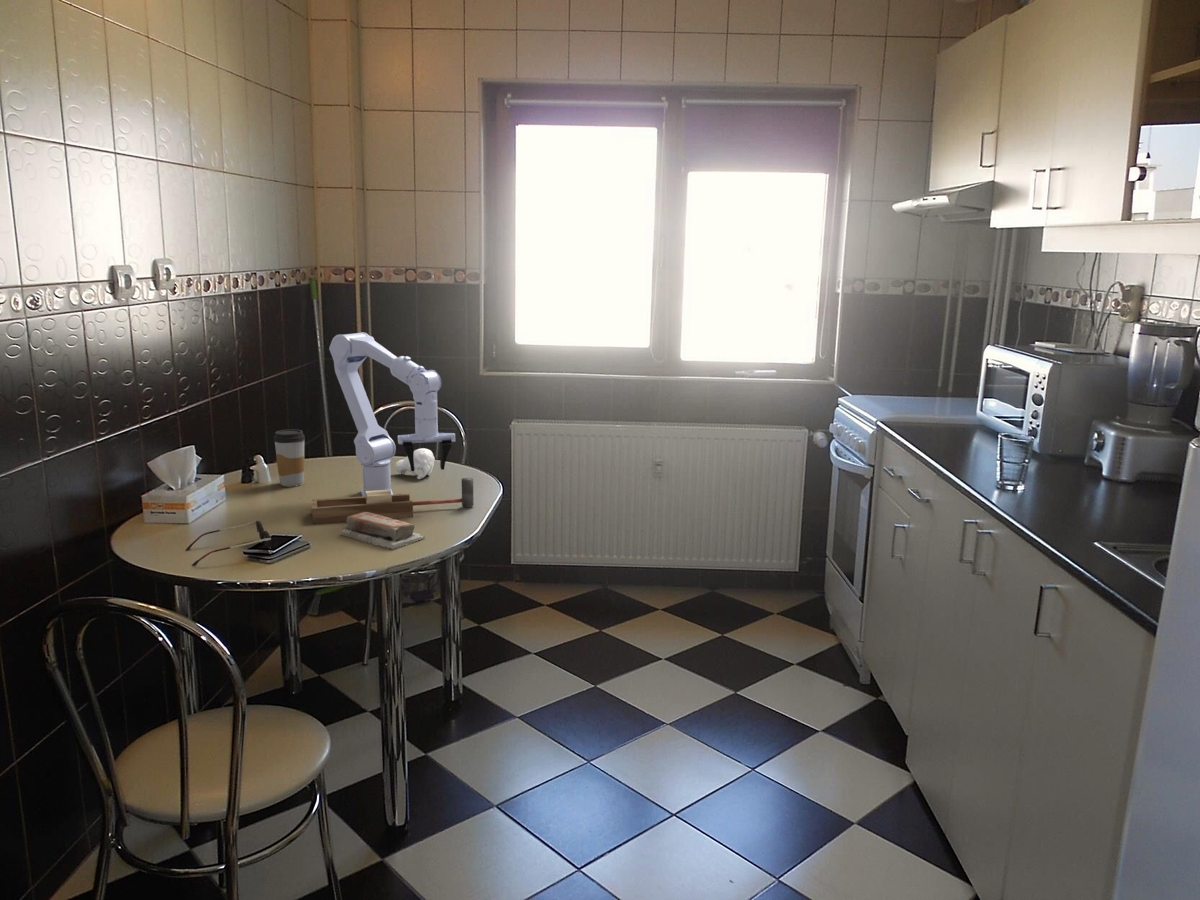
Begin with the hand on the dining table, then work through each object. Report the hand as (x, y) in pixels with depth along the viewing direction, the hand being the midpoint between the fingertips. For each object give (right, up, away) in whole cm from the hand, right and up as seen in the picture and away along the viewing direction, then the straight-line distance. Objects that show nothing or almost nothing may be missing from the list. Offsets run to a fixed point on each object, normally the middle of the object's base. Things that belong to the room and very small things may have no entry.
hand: (427, 469), depth 234 cm
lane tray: (-15, -11, -8) cm, 20 cm away
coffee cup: (-42, -5, +19) cm, 46 cm away
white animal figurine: (-10, -3, +31) cm, 32 cm away
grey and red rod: (-1, -10, -4) cm, 11 cm away
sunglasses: (-36, -18, -37) cm, 55 cm away
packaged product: (-6, -16, -25) cm, 30 cm away
